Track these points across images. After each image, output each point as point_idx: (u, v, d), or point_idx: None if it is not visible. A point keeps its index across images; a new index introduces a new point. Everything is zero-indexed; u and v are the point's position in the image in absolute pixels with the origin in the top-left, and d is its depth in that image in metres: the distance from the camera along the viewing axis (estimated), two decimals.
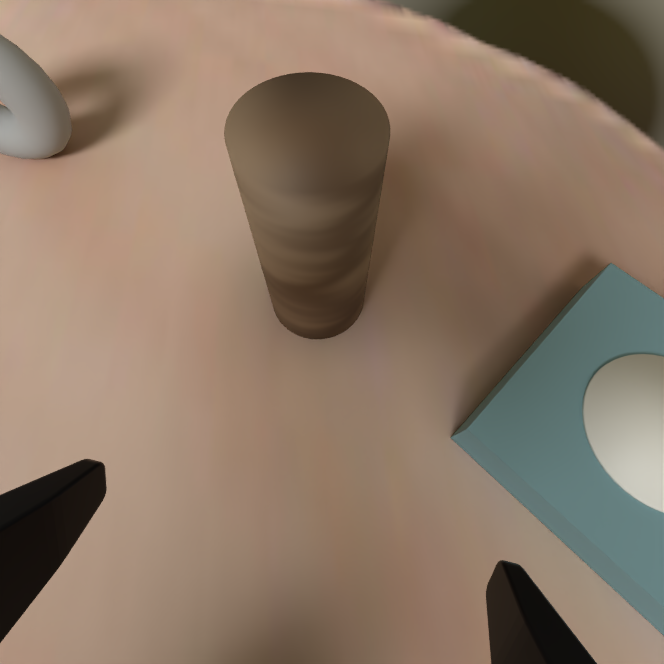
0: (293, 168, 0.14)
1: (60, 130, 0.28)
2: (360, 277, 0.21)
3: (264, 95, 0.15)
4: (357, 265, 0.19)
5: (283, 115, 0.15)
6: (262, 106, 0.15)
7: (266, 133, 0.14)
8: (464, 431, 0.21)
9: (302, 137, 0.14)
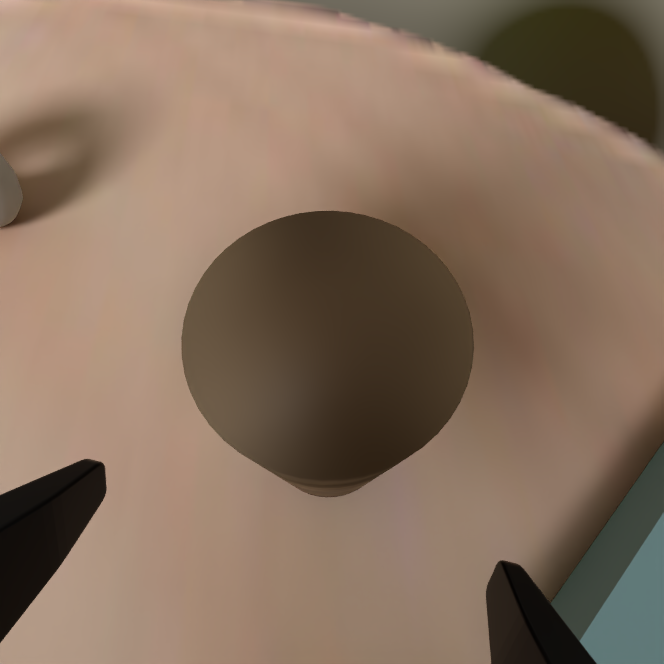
0: (302, 420, 0.07)
1: (4, 204, 0.22)
2: None
3: (256, 257, 0.09)
4: None
5: (286, 300, 0.09)
6: (251, 279, 0.09)
7: (255, 338, 0.08)
8: None
9: (319, 349, 0.08)
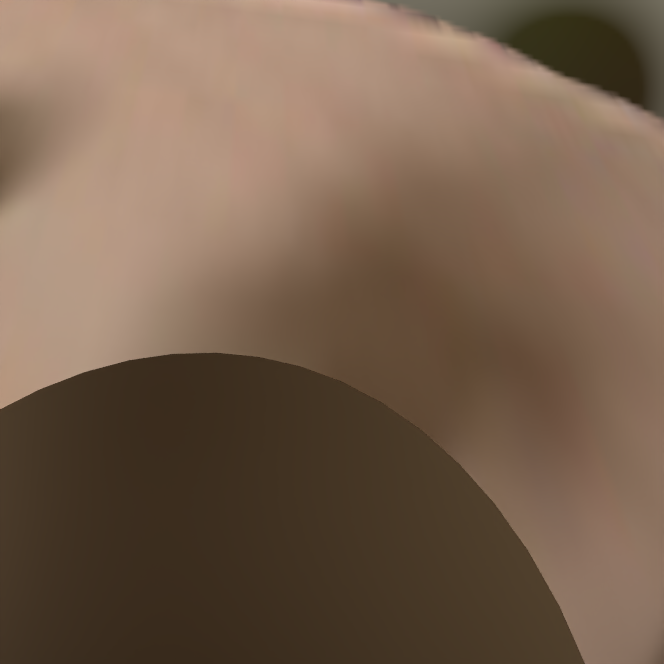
0: None
1: None
2: None
3: None
4: None
5: None
6: None
7: None
8: None
9: None
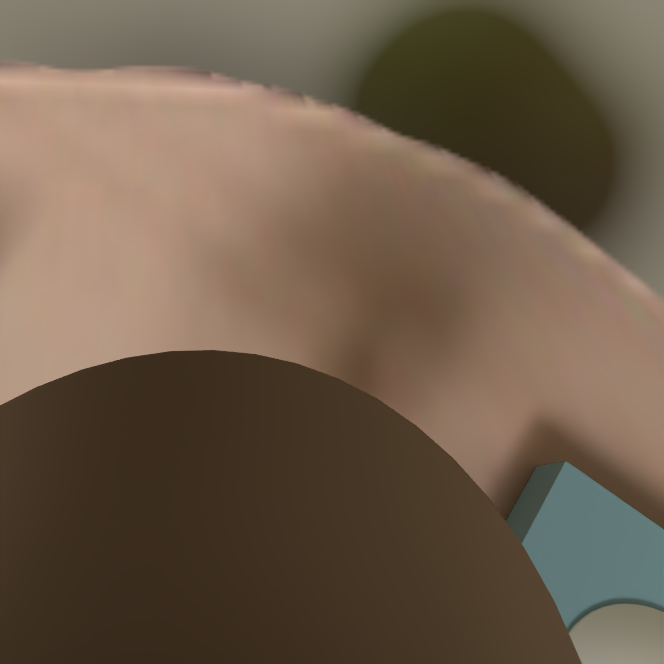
0: None
1: None
2: None
3: None
4: None
5: None
6: None
7: None
8: None
9: None
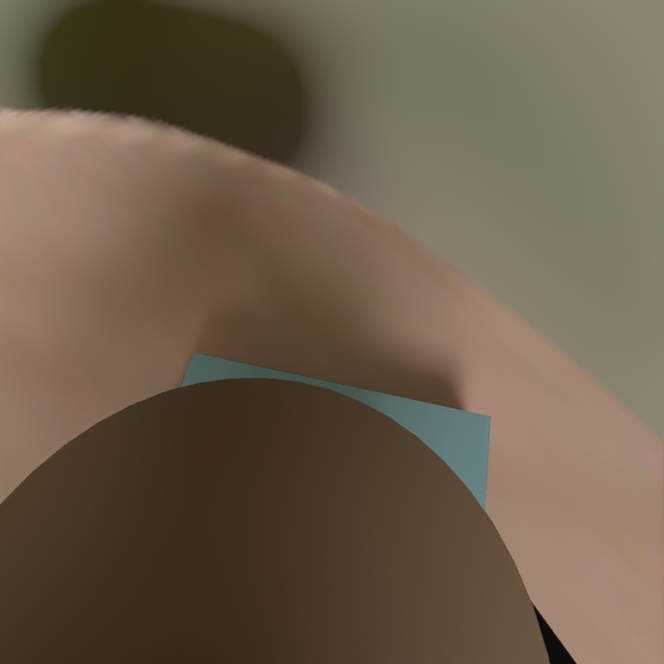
0: None
1: None
2: None
3: (91, 495, 0.04)
4: None
5: (142, 616, 0.04)
6: (70, 558, 0.04)
7: None
8: None
9: None
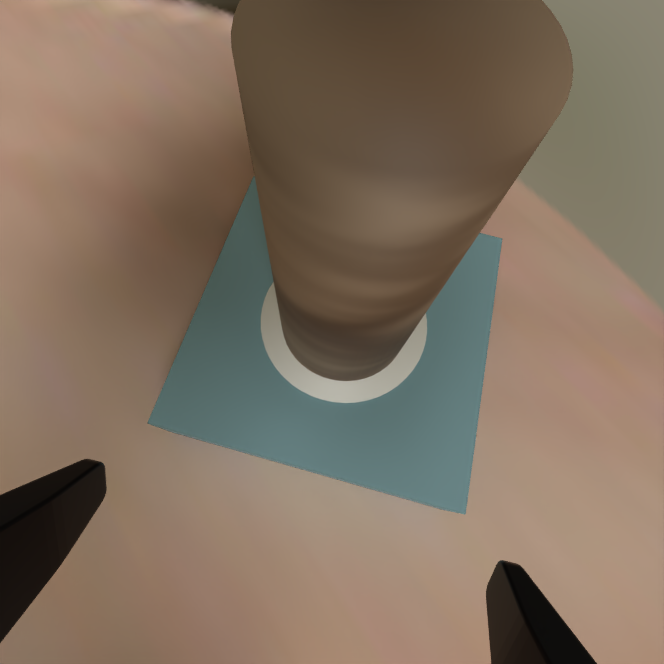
0: (376, 115, 0.06)
1: None
2: (425, 312, 0.13)
3: None
4: (430, 299, 0.12)
5: (355, 9, 0.07)
6: None
7: (319, 39, 0.07)
8: (153, 425, 0.18)
9: (394, 56, 0.07)
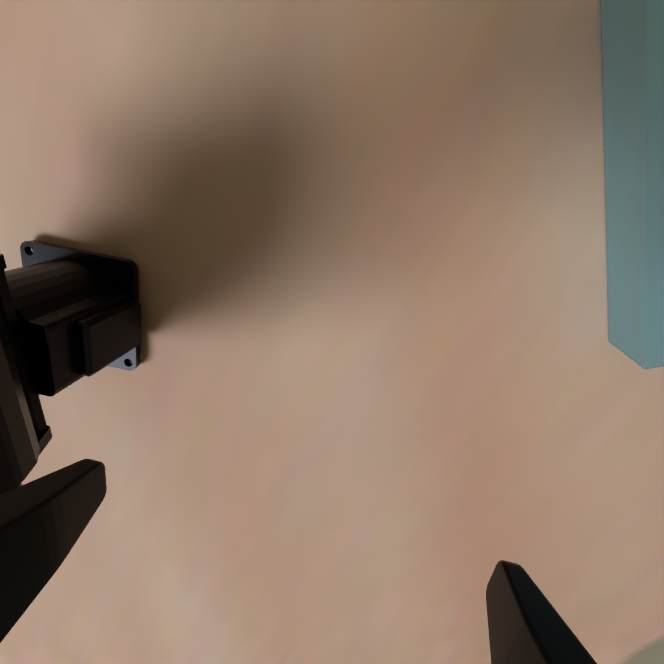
0: None
1: None
2: None
3: None
4: None
5: None
6: None
7: None
8: None
9: None
